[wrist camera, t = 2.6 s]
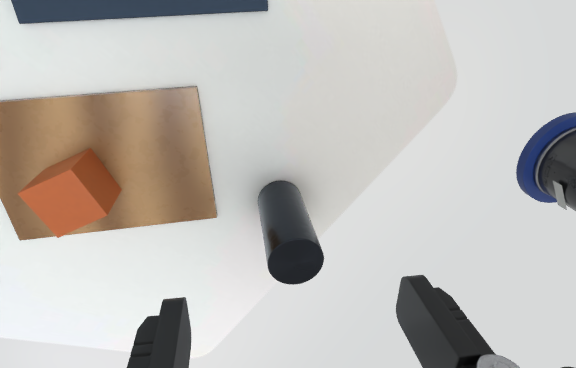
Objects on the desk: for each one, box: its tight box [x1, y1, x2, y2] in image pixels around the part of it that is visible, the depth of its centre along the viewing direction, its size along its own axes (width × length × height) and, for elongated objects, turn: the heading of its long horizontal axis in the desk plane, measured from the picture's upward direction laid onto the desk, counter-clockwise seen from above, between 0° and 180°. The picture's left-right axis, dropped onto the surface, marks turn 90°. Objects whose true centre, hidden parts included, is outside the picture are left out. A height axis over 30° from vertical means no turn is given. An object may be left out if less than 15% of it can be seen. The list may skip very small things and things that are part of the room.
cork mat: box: [0, 86, 217, 240], centre depth 35 cm, size 20×14×1 cm
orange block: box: [18, 148, 122, 238], centre depth 33 cm, size 5×5×5 cm
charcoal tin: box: [258, 181, 324, 284], centre depth 35 cm, size 5×5×11 cm
